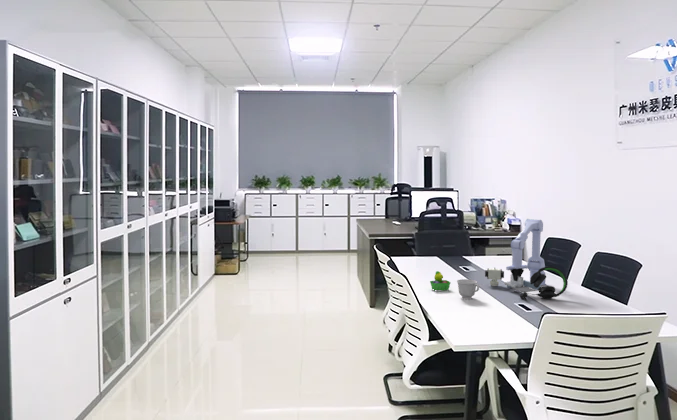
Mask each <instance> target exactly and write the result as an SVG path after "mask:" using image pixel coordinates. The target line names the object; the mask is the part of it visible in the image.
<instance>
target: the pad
mask: <svg viewBox="0 0 677 420" xmlns="http://www.w3.org/2000/svg"><path fill="white" fill-rule="evenodd" d="M510 289H512V290H514V291H518V292H519V293H520V292H521V293H524V292H526V293H530V292H537V291H538V290H535V289H532V288H529V287H526V286H523V287H519V288H514V287H510Z"/></svg>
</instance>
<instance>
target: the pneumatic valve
mask: <svg viewBox="0 0 677 420" xmlns="http://www.w3.org/2000/svg"><path fill="white" fill-rule="evenodd" d="M484 277H485V278H486V279H487V280H490V281H489V285H490V286H492V287H498V286H499V282H500V281H502V279H504V278H505V271H504V270H502V268H496V267H493V268H490V267H489V268H487V269H485V271H484ZM498 280H499V281H498Z"/></svg>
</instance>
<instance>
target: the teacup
mask: <svg viewBox="0 0 677 420" xmlns="http://www.w3.org/2000/svg"><path fill="white" fill-rule="evenodd" d="M456 283H457V286H458V287H457V288H458V293H459V295H460V296H461V299H463V300H472V299H473V298H472V297H473V296H475V294H476V292H478V291H479V290H480V284H478V281H477V280H474V279H465V278H464V279H457V280H456Z"/></svg>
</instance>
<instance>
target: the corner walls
mask: <svg viewBox="0 0 677 420" xmlns="http://www.w3.org/2000/svg"><path fill="white" fill-rule="evenodd" d="M509 282H511V280H510V281H509ZM530 283H531V282H530V280H526V279H523V286H524V287H527V288H531V289H534V290H537V291H538V288H540V287H542V285H539V287H538V288H536V287H535V286H534V284H530ZM506 287H507V288H509V289H510V288H512V287H511V286H508V285H506Z"/></svg>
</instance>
